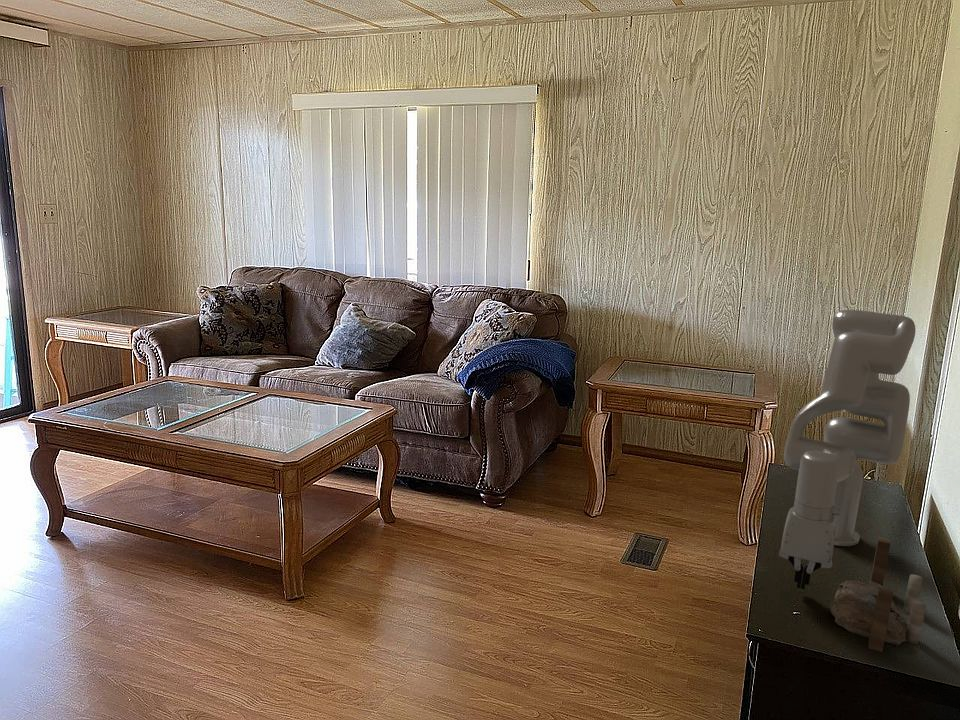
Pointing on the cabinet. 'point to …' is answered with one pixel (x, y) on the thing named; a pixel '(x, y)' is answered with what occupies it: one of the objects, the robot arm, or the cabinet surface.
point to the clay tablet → (864, 611)
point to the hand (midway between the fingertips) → (801, 585)
